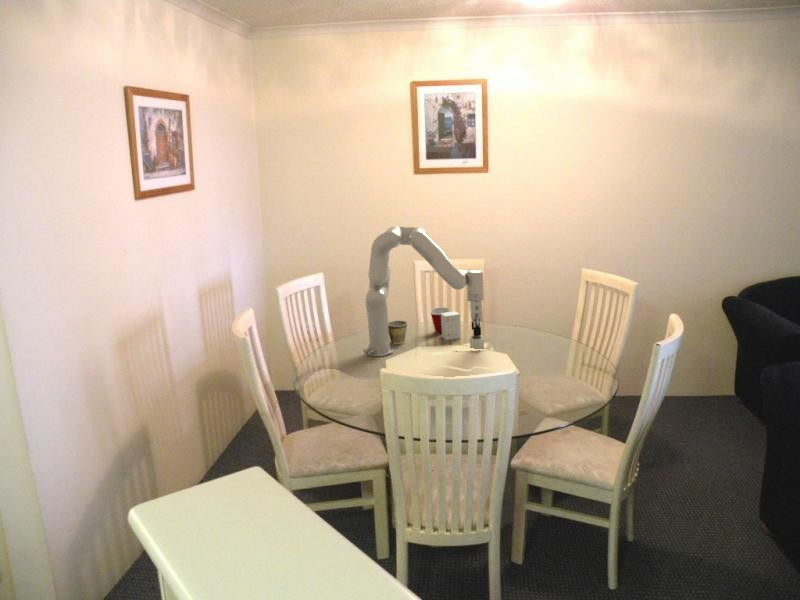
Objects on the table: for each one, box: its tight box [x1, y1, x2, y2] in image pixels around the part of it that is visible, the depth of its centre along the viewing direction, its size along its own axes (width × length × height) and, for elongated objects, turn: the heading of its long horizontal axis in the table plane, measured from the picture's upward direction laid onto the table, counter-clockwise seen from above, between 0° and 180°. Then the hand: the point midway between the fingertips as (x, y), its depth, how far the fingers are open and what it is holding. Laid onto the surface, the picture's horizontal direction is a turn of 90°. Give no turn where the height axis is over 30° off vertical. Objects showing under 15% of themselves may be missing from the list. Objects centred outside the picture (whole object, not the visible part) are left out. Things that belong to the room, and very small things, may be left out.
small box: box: [441, 310, 462, 341], centre depth 320 cm, size 8×6×13 cm
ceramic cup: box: [388, 320, 408, 345], centre depth 321 cm, size 13×10×10 cm
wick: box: [473, 322, 481, 339], centre depth 302 cm, size 3×3×12 cm
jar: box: [469, 335, 485, 349], centre depth 303 cm, size 7×7×5 cm
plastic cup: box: [429, 306, 451, 334], centre depth 332 cm, size 11×11×12 cm
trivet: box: [452, 341, 494, 351], centre depth 305 cm, size 18×12×1 cm, turn 89°
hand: (476, 332), depth 302 cm, fingers open, 9 cm apart
